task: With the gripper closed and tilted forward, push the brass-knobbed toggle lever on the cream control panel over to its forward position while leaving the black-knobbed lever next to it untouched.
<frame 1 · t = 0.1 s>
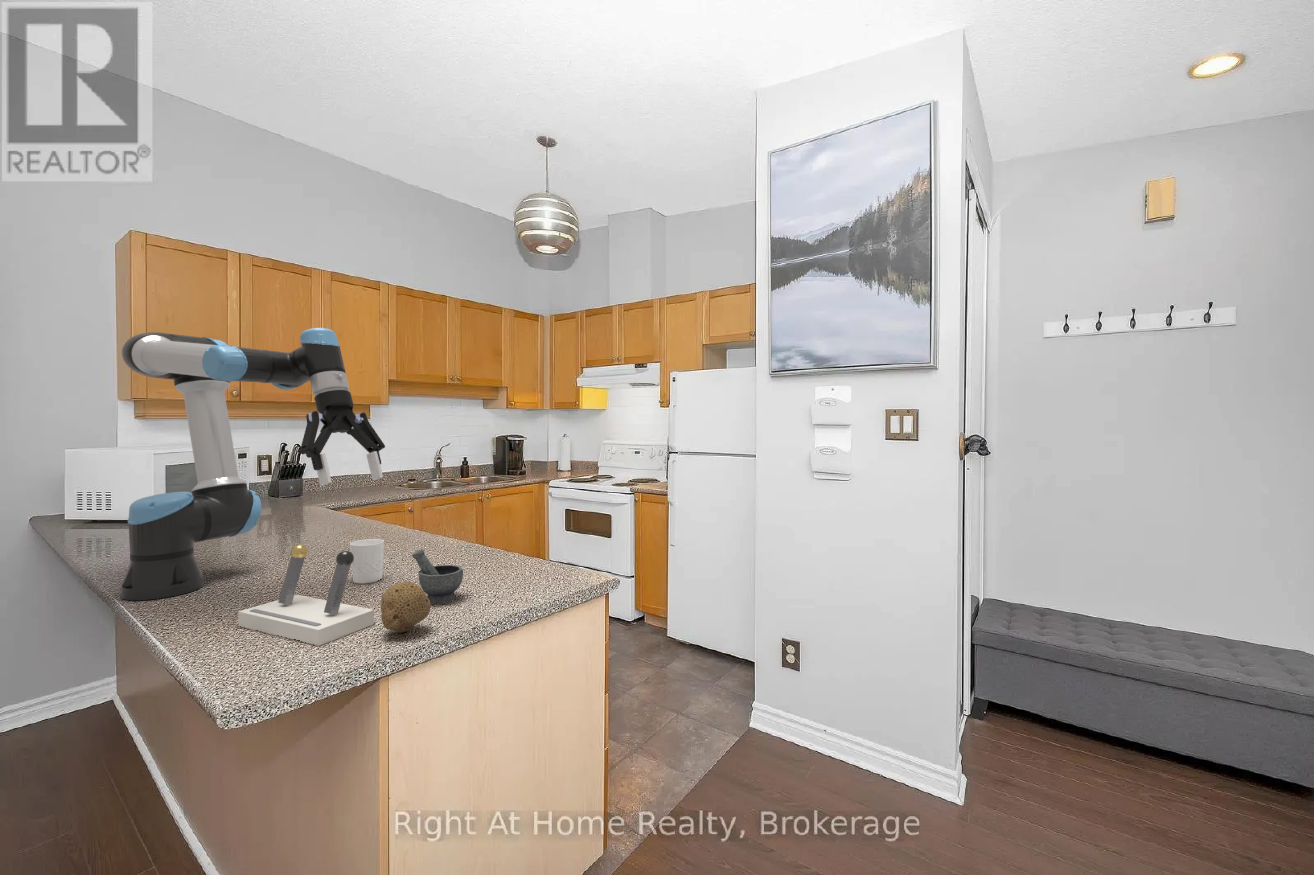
hand: (353, 481, 129), 28 cm above the counter, tool tilted 20°, fingers open, 13 cm apart
white cup: (367, 580, 146), on the counter
black lever: (339, 581, 113), point 9 cm above the counter, hinge at -18.0°
brass lever: (293, 573, 119), point 9 cm above the counter, hinge at -18.0°
control panel: (306, 625, 114), on the counter
natural sponge: (405, 633, 111), on the counter
mortar and pestle: (438, 600, 131), on the counter
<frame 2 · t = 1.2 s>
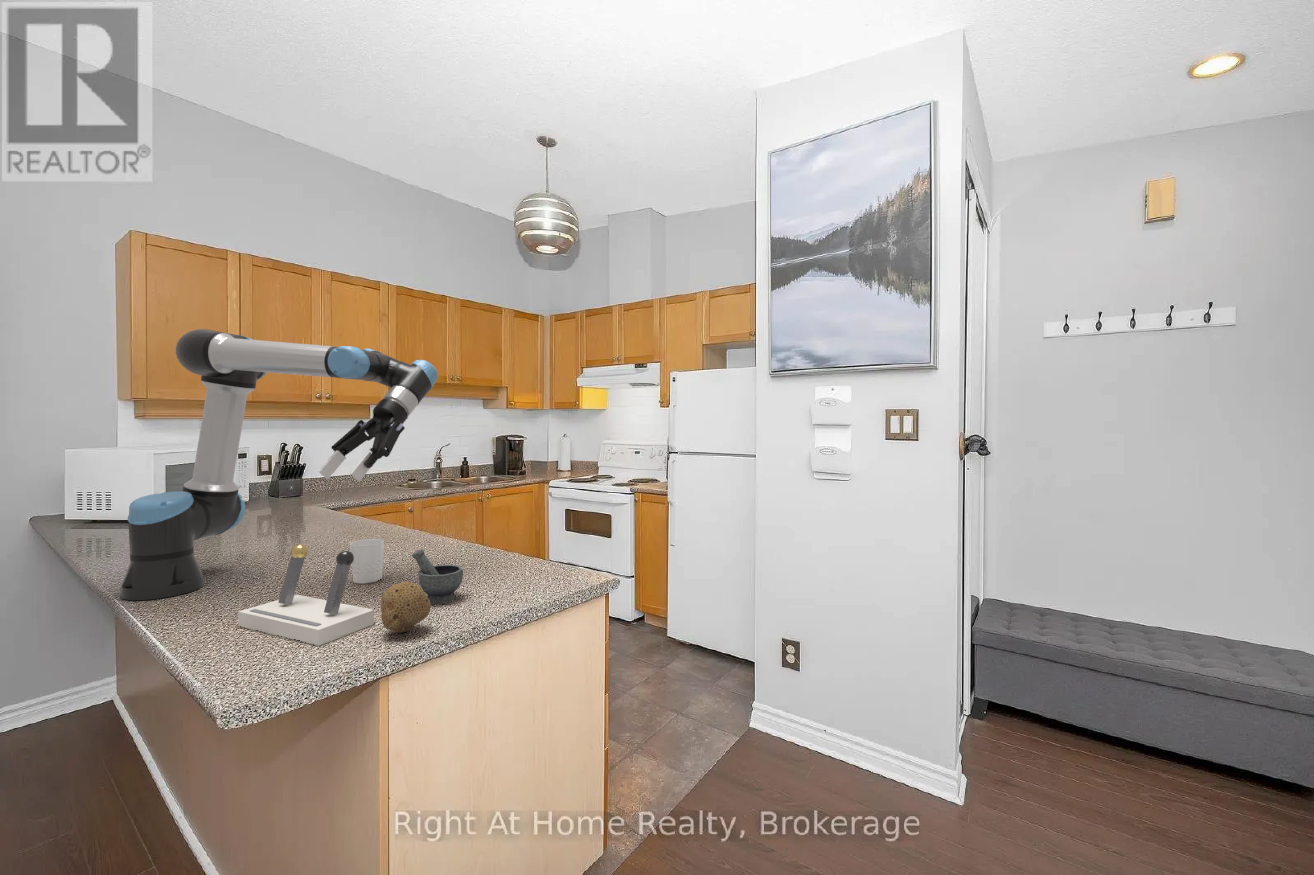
hand: (338, 476, 128), 29 cm above the counter, tool tilted 45°, fingers open, 10 cm apart
nothing on the counter moved.
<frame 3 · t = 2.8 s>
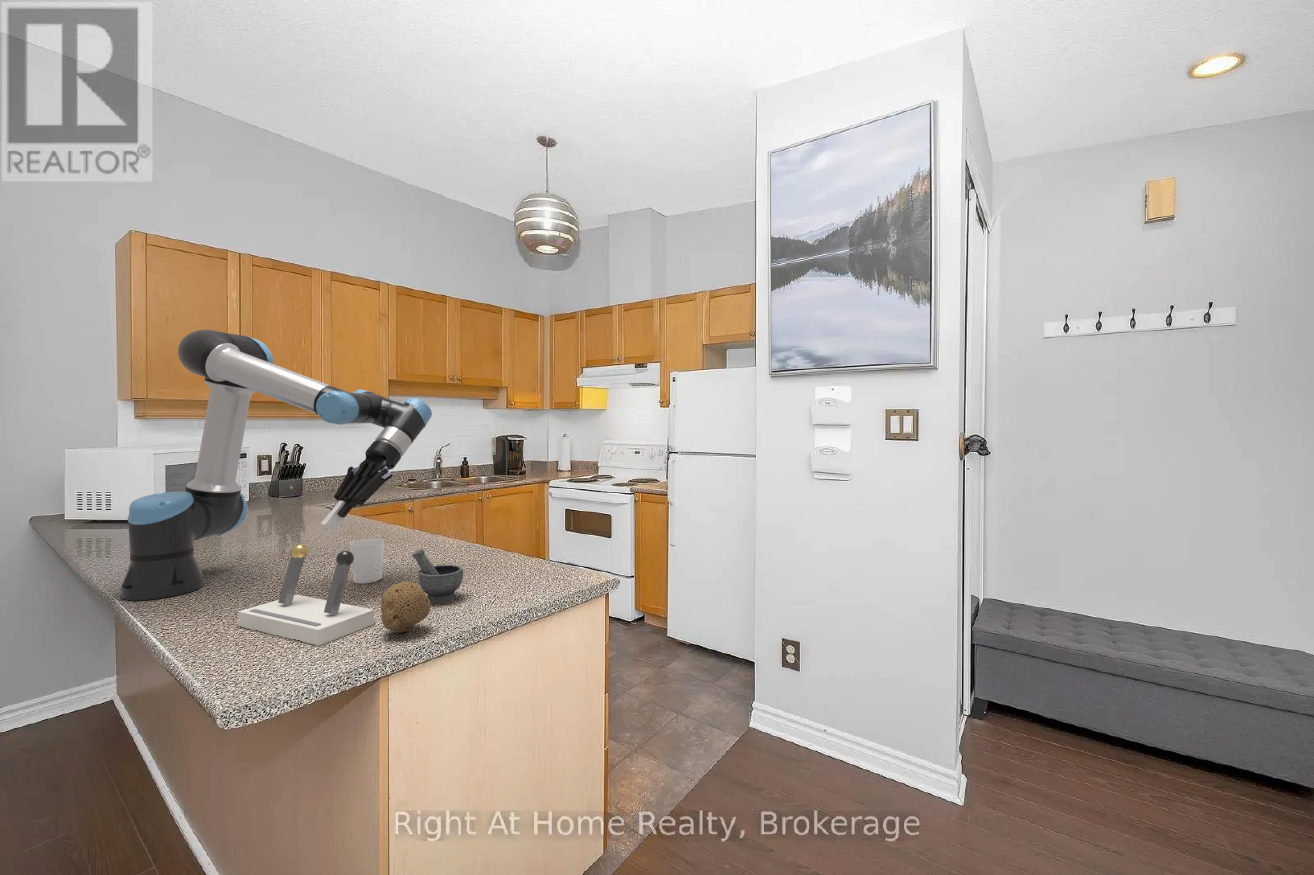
hand: (327, 527, 125), 18 cm above the counter, tool tilted 45°, fingers closed
nothing on the counter moved.
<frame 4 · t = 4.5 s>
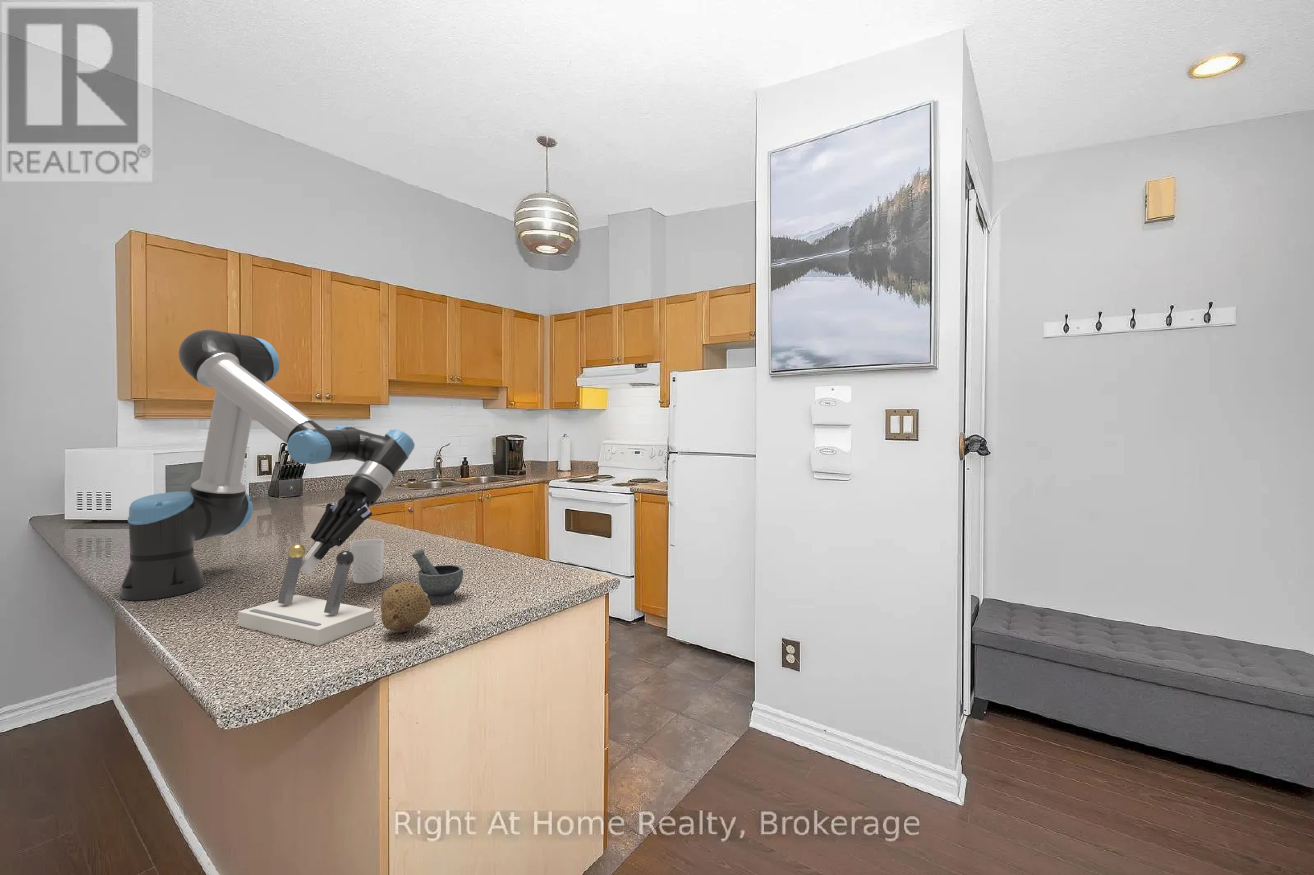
hand: (303, 570, 121), 9 cm above the counter, tool tilted 45°, fingers closed
brass lever: (291, 573, 119), point 9 cm above the counter, hinge at -15.0°, touching gripper
everything else where it was.
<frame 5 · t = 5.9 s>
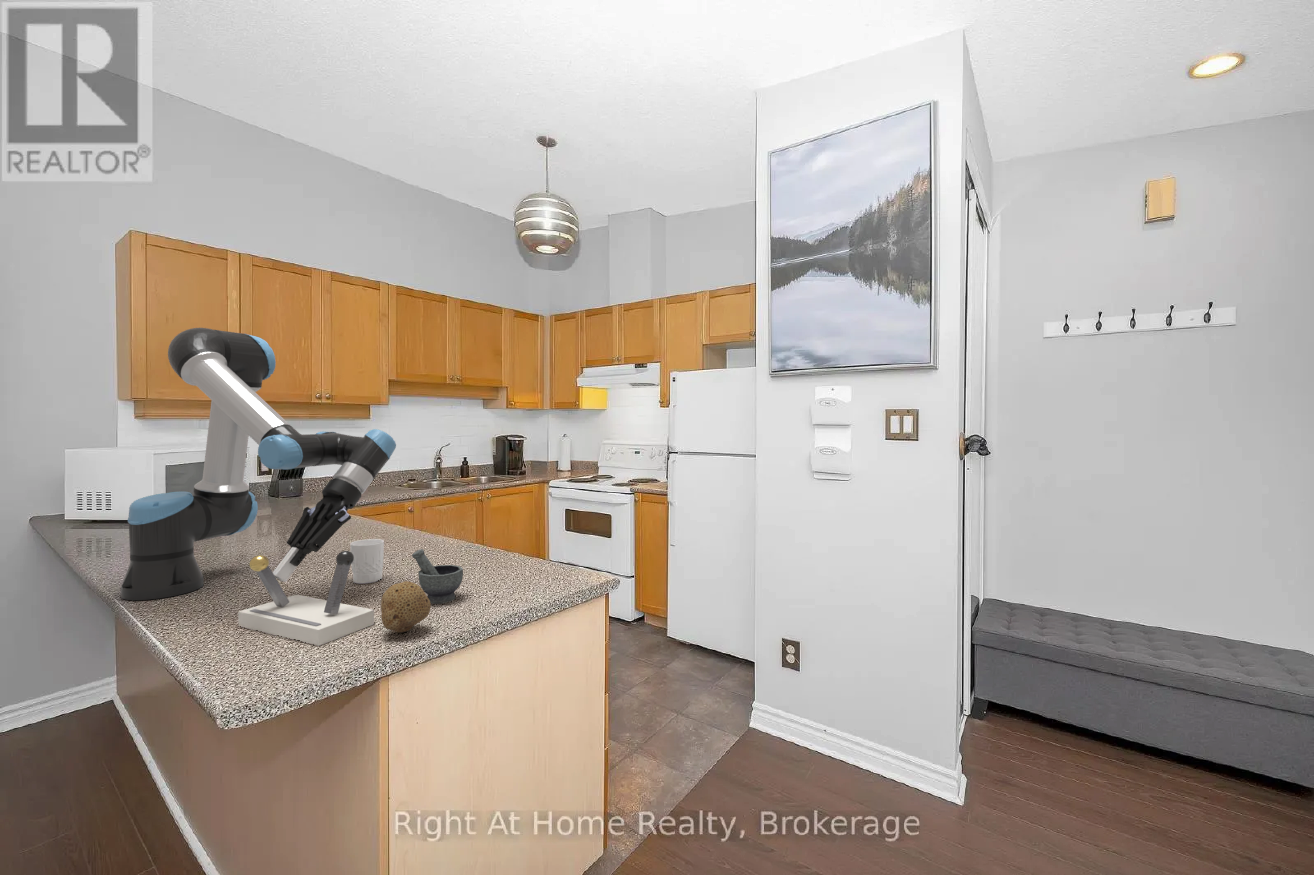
hand: (278, 578, 116), 9 cm above the counter, tool tilted 45°, fingers closed
brass lever: (269, 581, 114), point 9 cm above the counter, hinge at 25.4°, touching gripper
everything else where it was.
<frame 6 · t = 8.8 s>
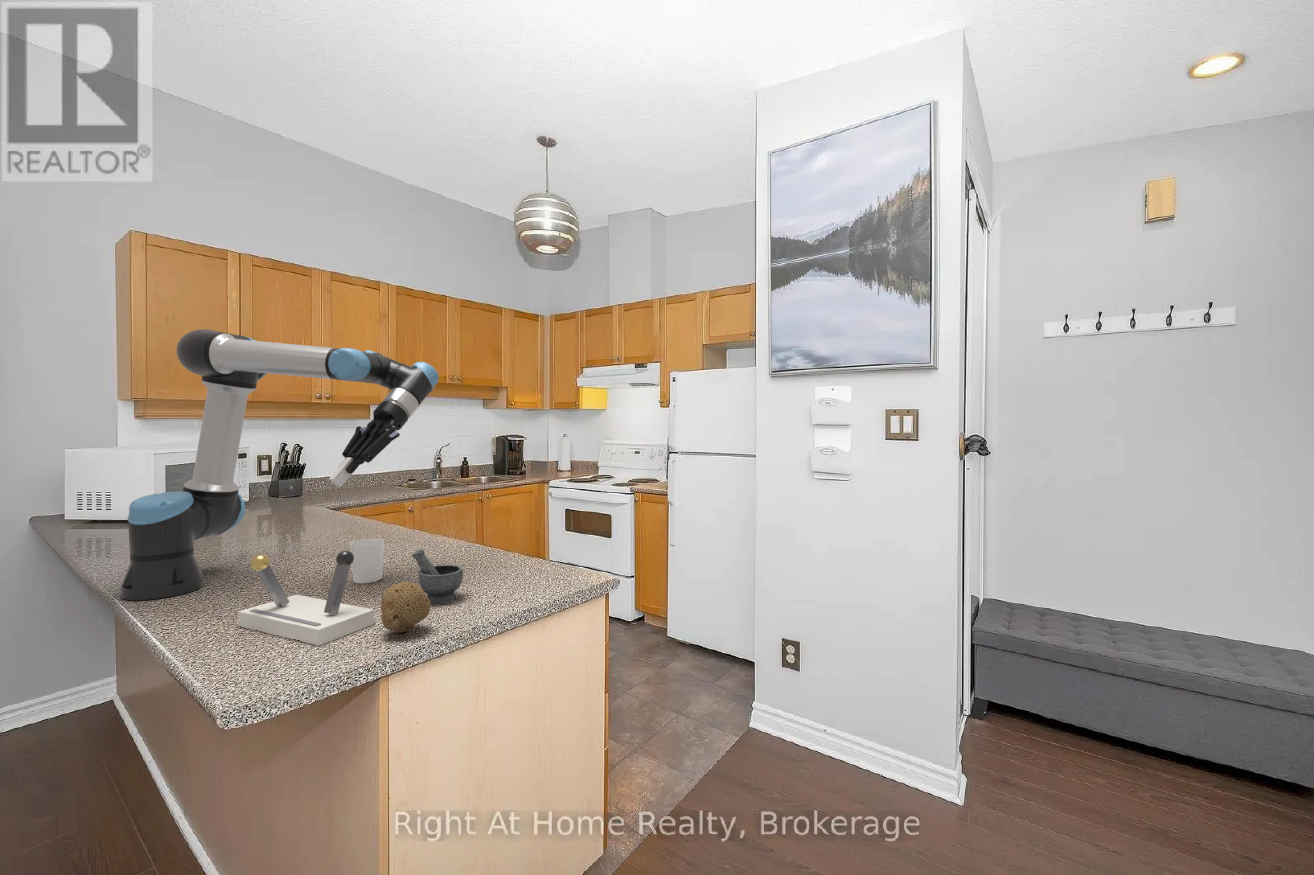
hand: (335, 482, 127), 28 cm above the counter, tool tilted 45°, fingers closed
brass lever: (270, 580, 114), point 9 cm above the counter, hinge at 24.4°
everything else where it was.
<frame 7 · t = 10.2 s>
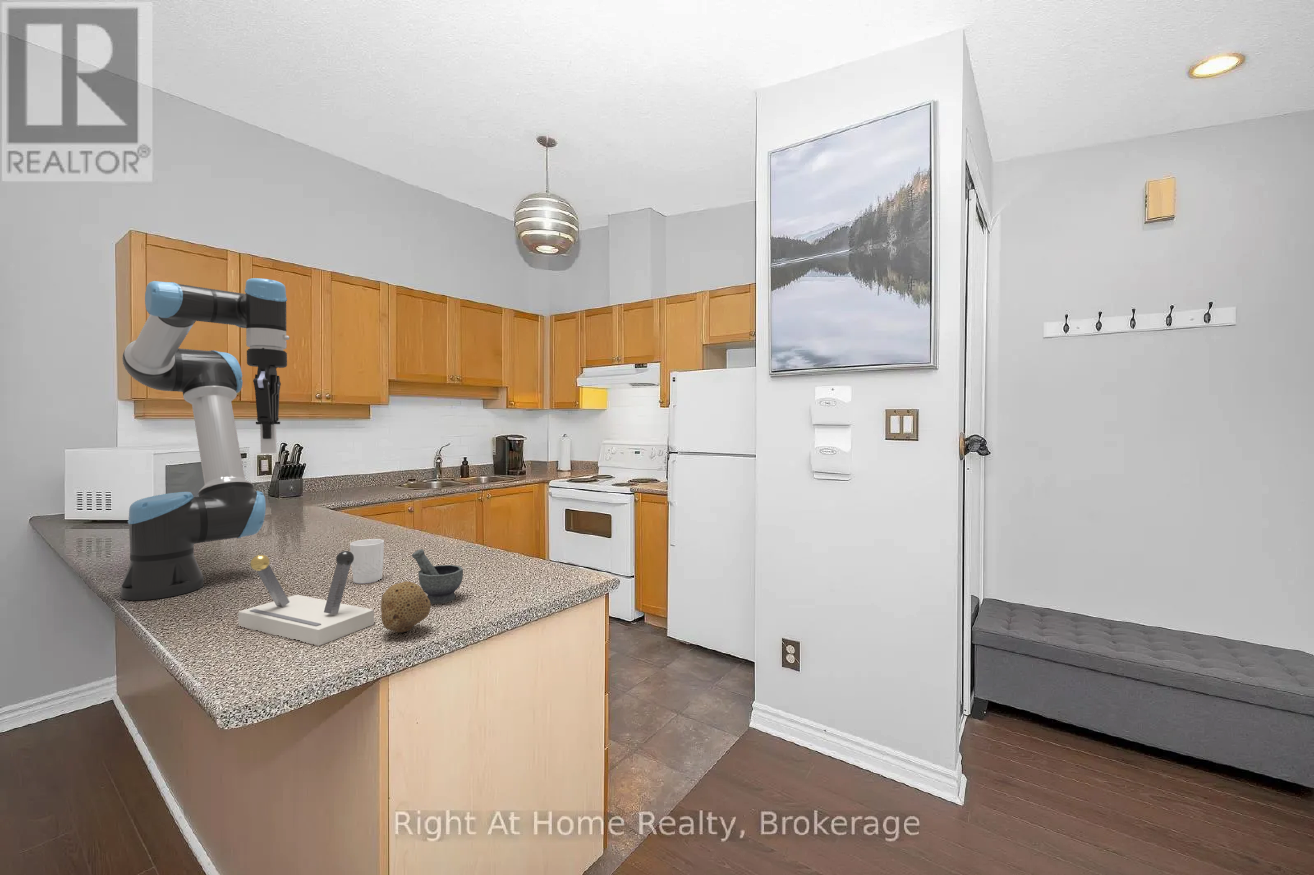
hand: (268, 453, 128), 34 cm above the counter, tool pointing down, fingers closed
nothing on the counter moved.
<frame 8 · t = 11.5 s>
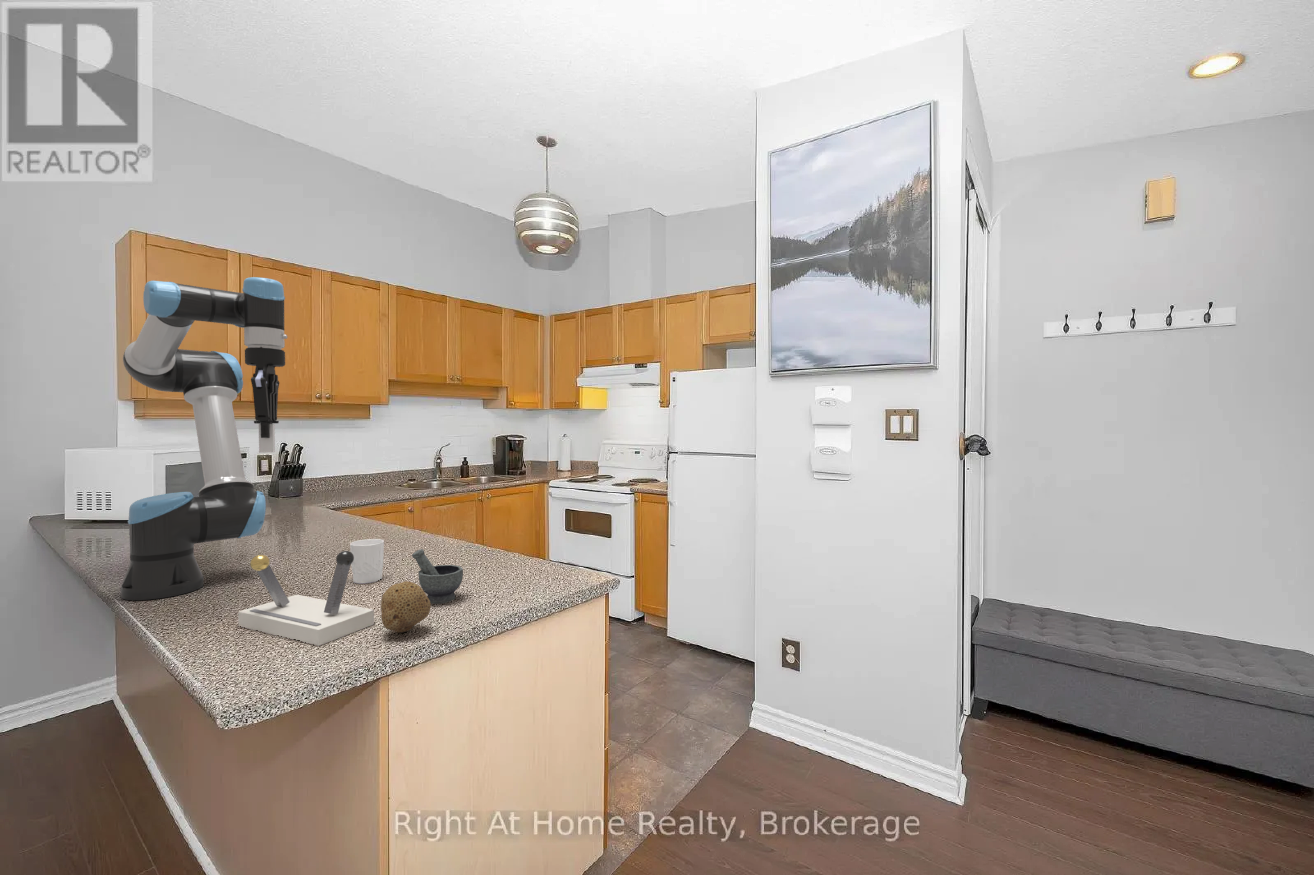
hand: (267, 452, 128), 34 cm above the counter, tool pointing down, fingers closed
nothing on the counter moved.
at the end: brass lever at +24° (first picture: -18°); black lever at -18° (first picture: -18°) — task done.
